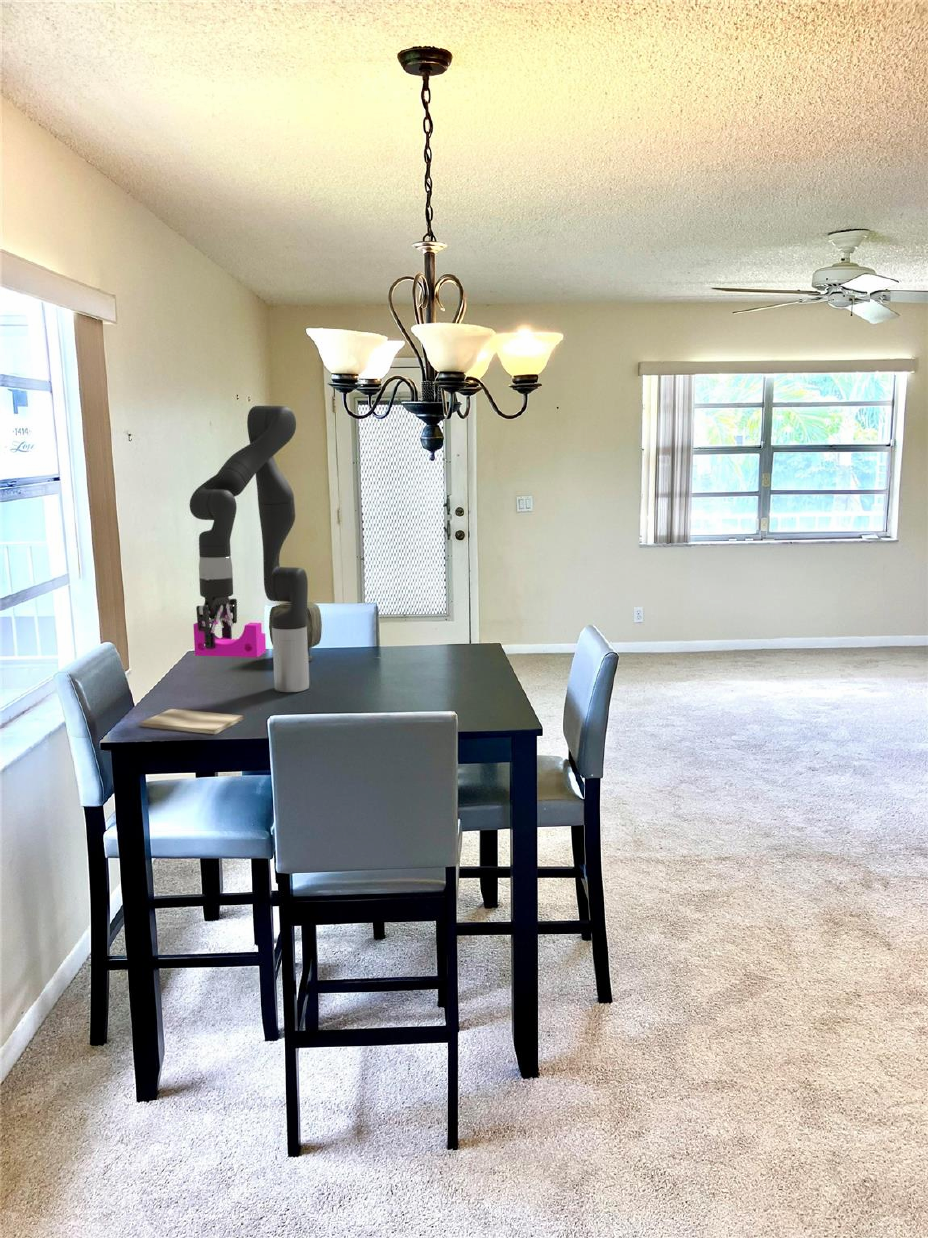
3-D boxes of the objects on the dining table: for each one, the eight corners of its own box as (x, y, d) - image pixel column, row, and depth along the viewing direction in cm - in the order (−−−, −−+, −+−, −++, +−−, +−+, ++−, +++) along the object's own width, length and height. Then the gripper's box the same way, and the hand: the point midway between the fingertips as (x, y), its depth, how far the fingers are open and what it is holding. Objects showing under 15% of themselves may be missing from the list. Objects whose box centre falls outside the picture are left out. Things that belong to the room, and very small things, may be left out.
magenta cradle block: (265, 651, 211) (264, 621, 210) (257, 657, 205) (255, 625, 204) (205, 650, 213) (204, 619, 212) (194, 655, 207) (193, 624, 206)
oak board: (171, 712, 218) (171, 708, 218) (243, 719, 213) (242, 715, 212) (140, 726, 207) (140, 722, 207) (214, 734, 201) (214, 730, 201)
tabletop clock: (270, 660, 276) (267, 580, 271) (282, 654, 284) (279, 577, 280) (313, 662, 272) (311, 582, 268) (324, 656, 281) (322, 578, 277)
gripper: (218, 572, 214) (221, 639, 217) (184, 578, 201) (187, 650, 203) (246, 573, 212) (248, 641, 215) (213, 579, 198) (216, 652, 201)
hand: (218, 645), depth 209 cm, fingers closed on magenta cradle block, 7 cm apart
